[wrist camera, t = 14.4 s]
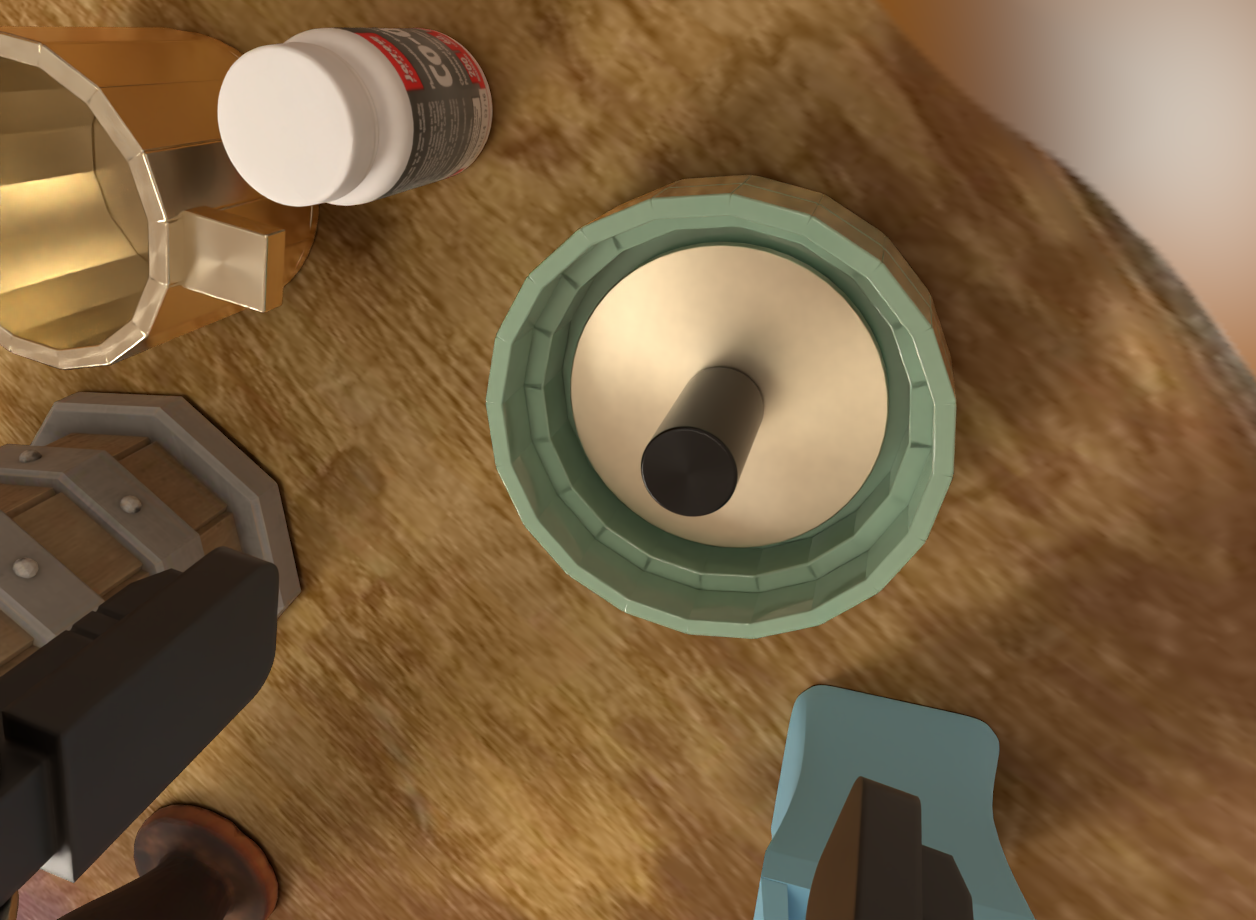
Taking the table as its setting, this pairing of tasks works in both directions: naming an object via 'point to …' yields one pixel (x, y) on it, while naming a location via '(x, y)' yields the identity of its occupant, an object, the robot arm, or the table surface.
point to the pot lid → (730, 394)
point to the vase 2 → (897, 757)
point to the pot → (126, 196)
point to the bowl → (664, 563)
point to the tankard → (122, 510)
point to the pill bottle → (353, 114)
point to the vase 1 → (190, 873)
